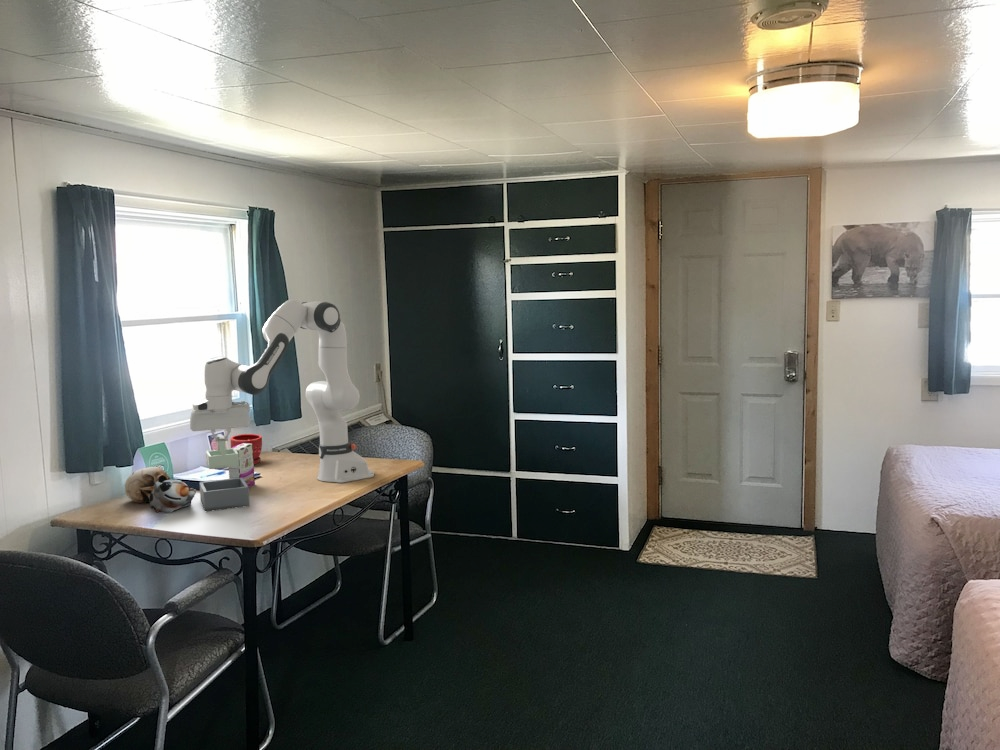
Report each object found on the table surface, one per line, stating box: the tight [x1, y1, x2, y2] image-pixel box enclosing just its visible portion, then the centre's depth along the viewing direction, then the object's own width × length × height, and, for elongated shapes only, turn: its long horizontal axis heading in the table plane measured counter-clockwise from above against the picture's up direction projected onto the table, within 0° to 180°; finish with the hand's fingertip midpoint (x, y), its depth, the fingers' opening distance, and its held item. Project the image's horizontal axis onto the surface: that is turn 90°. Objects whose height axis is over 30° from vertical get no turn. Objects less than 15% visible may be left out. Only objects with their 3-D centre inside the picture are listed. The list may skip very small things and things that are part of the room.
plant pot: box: [230, 433, 263, 465], centre depth 358 cm, size 13×13×12 cm
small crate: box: [205, 433, 239, 470], centre depth 295 cm, size 10×10×10 cm
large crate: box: [199, 478, 250, 512], centre depth 297 cm, size 15×15×7 cm
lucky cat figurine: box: [149, 478, 197, 514], centre depth 290 cm, size 15×12×14 cm
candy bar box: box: [228, 443, 256, 488], centre depth 318 cm, size 11×5×16 cm, turn 168°
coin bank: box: [124, 466, 172, 504], centre depth 302 cm, size 16×17×13 cm
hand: (221, 441), depth 294 cm, fingers closed on small crate
